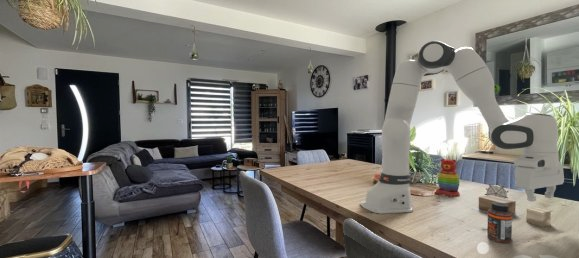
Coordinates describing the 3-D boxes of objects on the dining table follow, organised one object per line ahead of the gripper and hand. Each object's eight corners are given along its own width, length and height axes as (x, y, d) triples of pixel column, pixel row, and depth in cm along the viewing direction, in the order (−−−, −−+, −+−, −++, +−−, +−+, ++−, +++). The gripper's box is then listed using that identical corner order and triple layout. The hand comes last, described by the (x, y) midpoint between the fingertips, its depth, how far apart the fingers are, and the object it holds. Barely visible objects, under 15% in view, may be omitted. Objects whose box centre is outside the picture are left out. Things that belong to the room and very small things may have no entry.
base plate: (502, 222, 95) (502, 218, 95) (470, 211, 107) (470, 208, 107) (524, 217, 99) (524, 214, 99) (491, 207, 111) (491, 205, 110)
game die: (501, 211, 117) (517, 197, 111) (482, 203, 119) (496, 189, 113) (496, 196, 124) (510, 182, 118) (477, 189, 126) (491, 175, 120)
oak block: (542, 230, 88) (542, 212, 88) (526, 225, 92) (526, 208, 92) (550, 228, 90) (550, 211, 89) (534, 223, 94) (534, 207, 94)
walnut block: (502, 216, 98) (503, 203, 97) (478, 208, 106) (478, 196, 106) (515, 214, 100) (515, 201, 100) (490, 206, 108) (490, 195, 108)
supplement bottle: (482, 235, 84) (482, 201, 84) (499, 234, 85) (499, 200, 85) (498, 244, 78) (499, 207, 78) (516, 243, 79) (517, 206, 79)
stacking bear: (432, 193, 133) (433, 159, 132) (439, 190, 139) (440, 157, 139) (457, 198, 125) (457, 161, 124) (463, 194, 131) (463, 159, 131)
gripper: (547, 156, 97) (547, 193, 97) (510, 160, 90) (510, 200, 90) (570, 158, 91) (570, 198, 91) (532, 163, 84) (532, 205, 84)
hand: (540, 199), depth 91 cm, fingers open, 8 cm apart
